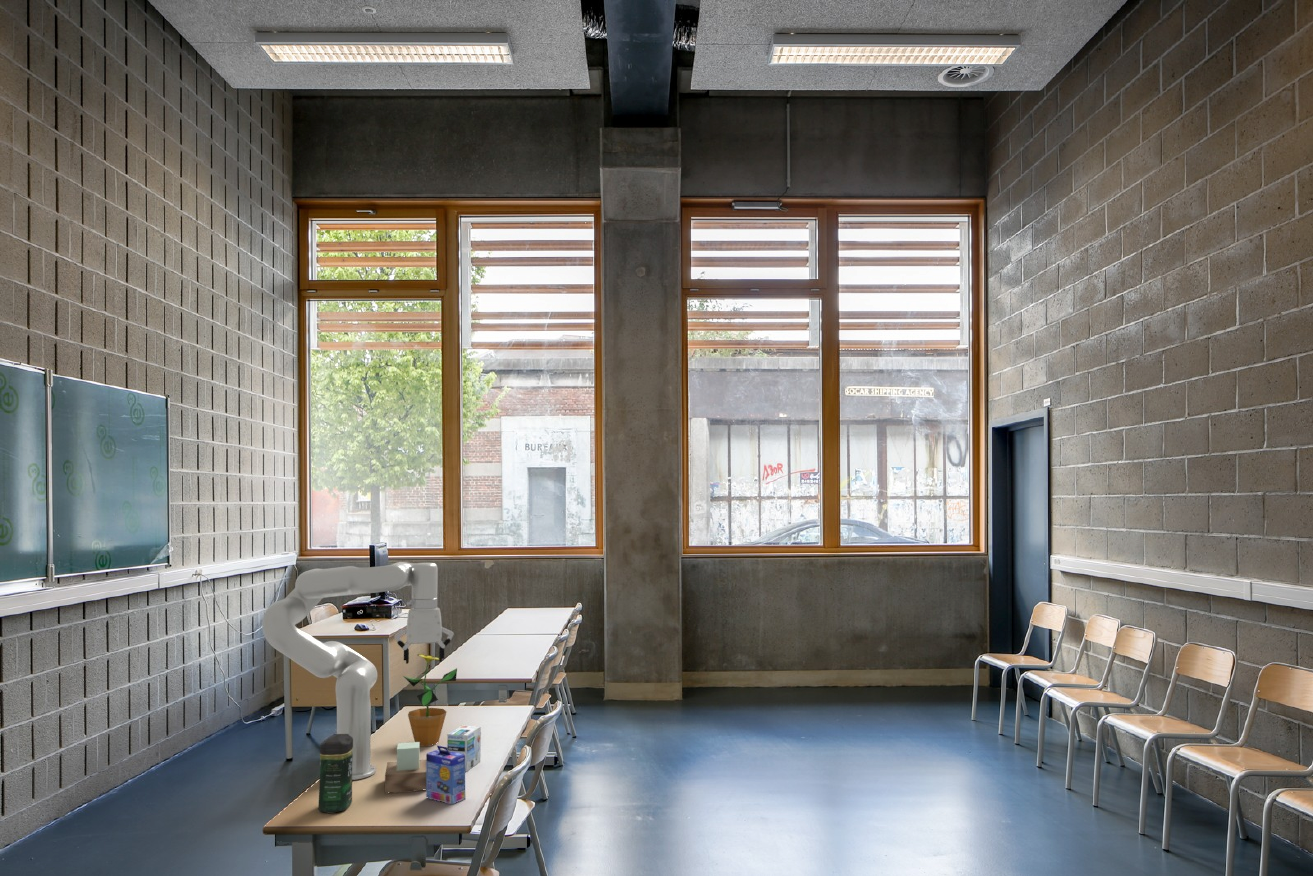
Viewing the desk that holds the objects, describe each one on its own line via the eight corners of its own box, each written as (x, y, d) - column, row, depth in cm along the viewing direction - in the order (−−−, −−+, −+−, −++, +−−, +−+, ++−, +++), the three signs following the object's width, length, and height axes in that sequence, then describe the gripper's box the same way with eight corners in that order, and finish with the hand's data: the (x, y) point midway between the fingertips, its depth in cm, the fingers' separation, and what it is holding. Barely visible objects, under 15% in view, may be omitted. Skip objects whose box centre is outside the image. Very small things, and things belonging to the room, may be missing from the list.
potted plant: (448, 751, 289) (449, 656, 291) (390, 750, 290) (392, 656, 291) (462, 735, 307) (462, 646, 309) (407, 735, 308) (408, 646, 309)
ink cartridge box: (424, 799, 245) (425, 744, 246) (439, 793, 250) (439, 739, 251) (451, 805, 240) (452, 750, 241) (466, 799, 245) (466, 744, 246)
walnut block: (384, 793, 249) (385, 775, 250) (387, 780, 261) (387, 762, 261) (429, 790, 252) (429, 771, 252) (429, 776, 264) (430, 759, 264)
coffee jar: (346, 813, 234) (347, 741, 235) (315, 814, 234) (316, 741, 235) (355, 800, 244) (356, 731, 245) (325, 801, 243) (326, 731, 244)
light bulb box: (467, 772, 268) (467, 735, 269) (446, 771, 269) (446, 734, 270) (481, 761, 278) (481, 726, 279) (460, 760, 280) (461, 724, 280)
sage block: (396, 771, 253) (396, 749, 254) (397, 764, 259) (398, 743, 259) (418, 769, 255) (419, 747, 255) (419, 763, 260) (419, 742, 261)
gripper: (393, 607, 265) (393, 666, 264) (454, 604, 269) (453, 663, 268) (395, 603, 272) (394, 661, 271) (453, 601, 276) (453, 658, 275)
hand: (424, 662), depth 270 cm, fingers open, 9 cm apart
